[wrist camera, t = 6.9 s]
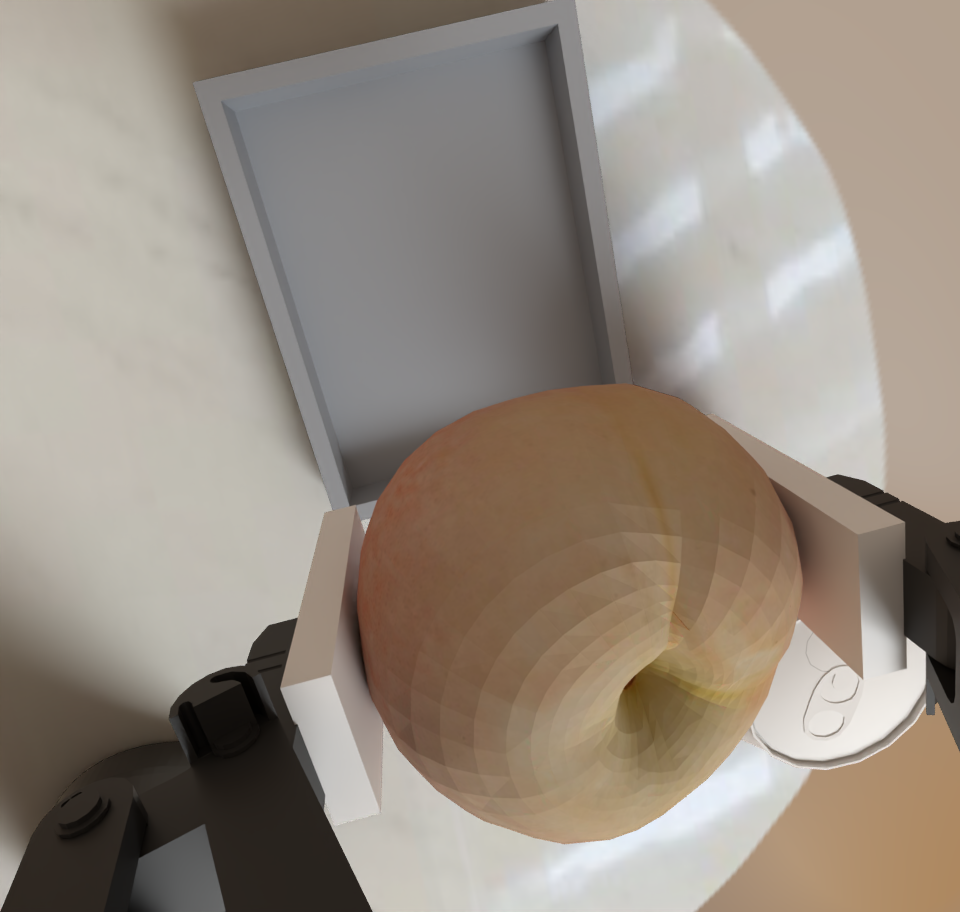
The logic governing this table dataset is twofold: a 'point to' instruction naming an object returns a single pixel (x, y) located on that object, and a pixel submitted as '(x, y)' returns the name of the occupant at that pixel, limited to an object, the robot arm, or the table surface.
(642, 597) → the fruit
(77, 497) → the table surface
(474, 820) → the table surface
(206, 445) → the table surface
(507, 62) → the tray
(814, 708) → the supplement can
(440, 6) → the table surface
